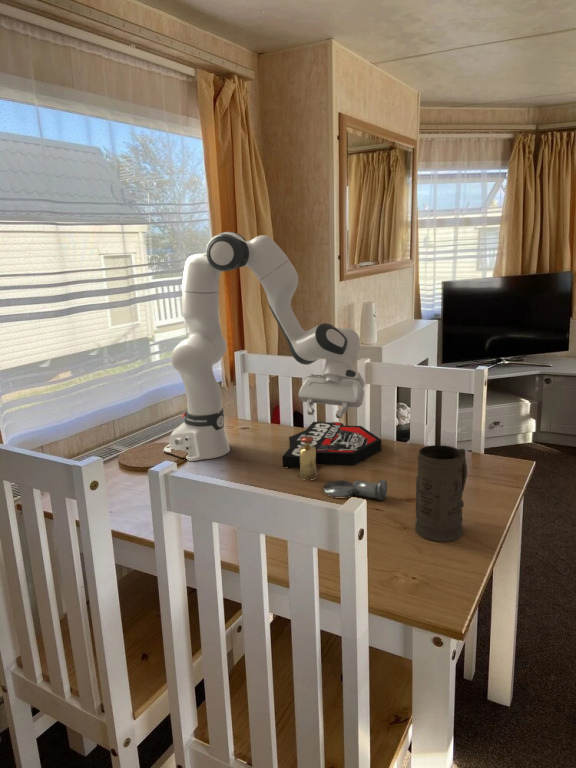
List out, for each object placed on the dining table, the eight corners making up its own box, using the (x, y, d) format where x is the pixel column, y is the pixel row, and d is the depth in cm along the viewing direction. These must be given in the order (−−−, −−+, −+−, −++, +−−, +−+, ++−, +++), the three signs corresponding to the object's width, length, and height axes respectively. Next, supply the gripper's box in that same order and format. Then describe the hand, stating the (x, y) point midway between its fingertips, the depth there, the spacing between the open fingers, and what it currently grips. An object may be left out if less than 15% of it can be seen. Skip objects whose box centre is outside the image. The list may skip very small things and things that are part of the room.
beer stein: (448, 548, 126) (454, 461, 122) (405, 534, 133) (408, 451, 129) (477, 525, 137) (482, 445, 133) (435, 513, 144) (440, 436, 140)
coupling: (317, 495, 155) (317, 477, 153) (331, 482, 162) (331, 465, 161) (378, 506, 147) (378, 487, 145) (389, 492, 154) (389, 474, 153)
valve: (297, 479, 165) (296, 439, 162) (305, 473, 169) (303, 434, 166) (312, 481, 163) (310, 441, 160) (319, 475, 167) (317, 436, 164)
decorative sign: (278, 470, 174) (378, 474, 167) (277, 457, 173) (378, 460, 166) (298, 432, 206) (383, 434, 200) (298, 421, 205) (383, 422, 199)
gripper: (302, 368, 181) (289, 407, 175) (364, 373, 171) (352, 414, 165) (309, 379, 185) (297, 416, 180) (369, 384, 176) (358, 424, 170)
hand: (324, 415), depth 172 cm, fingers open, 8 cm apart
